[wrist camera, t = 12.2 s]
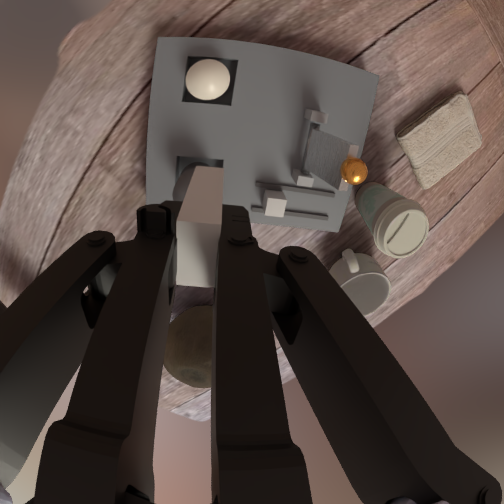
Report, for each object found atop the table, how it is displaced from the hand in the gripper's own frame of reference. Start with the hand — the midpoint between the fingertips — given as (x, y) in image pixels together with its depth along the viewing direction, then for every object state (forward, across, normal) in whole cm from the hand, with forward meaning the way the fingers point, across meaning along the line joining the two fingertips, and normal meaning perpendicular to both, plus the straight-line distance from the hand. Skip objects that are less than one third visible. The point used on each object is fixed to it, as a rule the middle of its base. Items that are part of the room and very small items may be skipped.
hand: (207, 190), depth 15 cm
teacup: (+25, +25, -20) cm, 40 cm away
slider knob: (+20, +8, -8) cm, 23 cm away
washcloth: (+25, +36, +7) cm, 45 cm away
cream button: (+23, -2, +6) cm, 24 cm away
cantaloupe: (+25, 0, -35) cm, 43 cm away
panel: (+24, +5, 0) cm, 25 cm away
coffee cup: (+25, +25, -7) cm, 36 cm away
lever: (+18, +11, 0) cm, 21 cm away
